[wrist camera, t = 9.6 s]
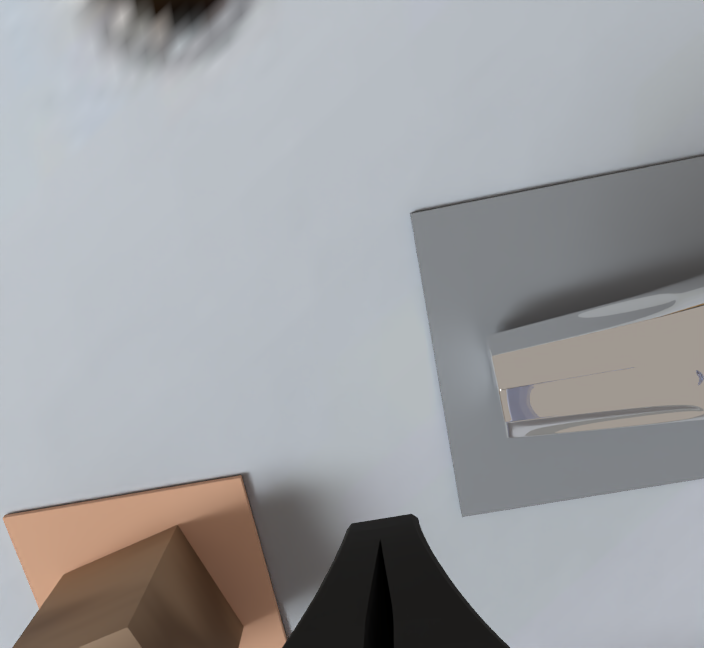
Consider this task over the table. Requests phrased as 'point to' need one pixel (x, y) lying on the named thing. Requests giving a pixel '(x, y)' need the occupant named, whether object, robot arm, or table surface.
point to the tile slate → (549, 302)
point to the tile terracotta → (147, 520)
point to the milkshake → (604, 365)
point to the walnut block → (137, 602)
